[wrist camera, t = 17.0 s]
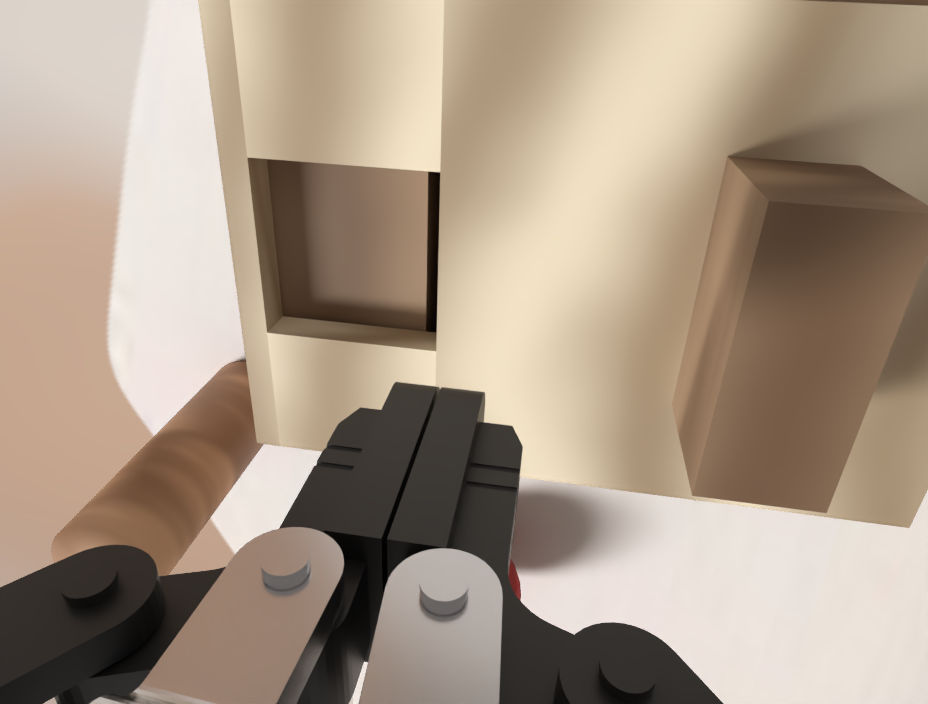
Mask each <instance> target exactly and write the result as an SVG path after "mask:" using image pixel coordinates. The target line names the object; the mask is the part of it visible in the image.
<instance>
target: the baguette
mask: <svg viewBox="0 0 928 704" xmlns="http://www.w3.org/2000/svg"><path fill="white" fill-rule="evenodd" d="M262 446H263V444H262V443H257V439H256V432H255V424H254V417H253V409H252V402H251V394H250V387H249V379H248V372H247V364H246V361H237V362H232V363H229V364H227V365H225V366H224V367H223V368H221V369H220V370H219V371H218V372H217V373H216V374H215V375H214V377H213V378H212V379H211V380H210V381H209V382H208V383H207V384H206V385H205V386H204V387H203V388H202V389H201V390H200V391H199V392H198V393H197V394H196V395H195V396H194V397H193V398H192V399H191V400H190V401H189V402H188V403H187V404H186V405H185V406H184V407H183V408H182V409H181V410H180V411H179V412H178V413H177V414H176V415H175V416H174V417H173V418H172V419H171V420H170V421H169V422H168V423H167V424H166V425H165V426H164V427H163V428H162V429H161V430H160V431H159V432H158V433H157V434H156V435H155V436H154V437H153V438H152V439H151V440H150V441H149V442H148V443H147V444H146V445H145V446H144V447H143V448H142V449H141V450H140V451H139V452H138V453H137V454H136V455H135V456H134V457H133V458H132V459H131V460H130V461H129V462H128V463H127V465H125V466H124V467H123V468H122V469H121V470H120V471H119V473H117V474H116V475H115V477H114V478H113V479H112V480H111V481H110V482H109V483H108V484H107V485H106V486H105V487H104V488H103V489H102V490H101V491H100V492H99V493H98V494H97V495H96V496H95V497H94V498H93V499H92V500H91V501H90V502H89V503H88V504H87V505H86V506H85V507H84V508H83V509H82V510H81V511H80V512H79V513H78V514H77V515H76V516H75V517H74V518H73V519H72V520H71V521H70V522H69V523H68V524H67V525H66V526H65V527H64V528H63V529H62V530H61V531H60V532H59V533H58V534H57V535H56V536H55V538H54V540H53V543H52V557H53V560H54V563H56V562H58V561H60V560H63V559H65V558H67V557H69V556H72V555H74V554H76V553H79V552H81V551H84V550H87V549H91V548H94V547H99V546H105V545H128V546H133V547H136V548H139V549H142V550H143V551H145V552H146V553H148V554H149V555H150V556H151V557H152V558H153V560H154V562H155V564H156V566H157V570H158V574H159V576H166V575H169V574H170V572H171V571H172V569H173V568H174V567H175V565H176V564H177V563H178V561H179V560H180V559H181V557H182V555H183V554H184V553H185V552H186V550H187V549H188V547H189V546H190V545H191V543H192V542H193V541H194V539H195V538H196V537H197V535H198V534H199V532H200V531H201V529H202V528H203V527H204V526H205V524H206V523H207V521H208V520H209V519H210V517H211V516H212V515H213V513H214V512H215V510H216V509H217V508H218V506H219V505H220V504H221V502H222V501H223V499H224V498H225V497H226V495H227V494H228V492H229V491H230V490H231V488H232V487H233V486H234V484H235V483H236V481H237V480H238V479H239V477H240V476H241V475H242V473H243V472H244V470H245V469H246V468H247V466H248V465H249V464H250V462H251V461H252V459H253V458H254V457H255V455H256V454H257V453H258V451H259V450H260V448H261V447H262Z"/></svg>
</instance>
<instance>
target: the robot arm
mask: <svg viewBox="0 0 928 704" xmlns="http://www.w3.org/2000/svg"><path fill="white" fill-rule="evenodd" d="M484 412H485V392H480V391H471V390H463V389H454V388H446V387H441V389H440V388H439V387H436V386H427V385H419V384H410V383H402V382H395V383H394V384H393V386H392V388H391V390H390V393H389V395H388V397H387V399H386V401H385V403H384V405H383V407H382V409H381V410H378V409H370V408H361V407H360V408H359V409H358V410H356V411H355V412H353V413H352V414H351V415H349V416H348V417H347V418H345V419H344V420H343V421H341V422H340V423H338V425H337V427H336V429H335V430H334V432H333V434H332V436H331V437H330V439H329V441H328V443H327V447H326V448H324V450H323V452H322V453H321V455H320V457H319V459H318V461H317V465H316V466H314V468H313V469H312V471H311V473H310V475H309V477H308V478H307V480H306V482H305V484H304V485H303V487H302V489H301V491H300V493H299V494H298V496H297V498H296V500H295V501H294V503H293V505H292V507H291V509H290V510H289V512H288V514H287V516H286V517H285V519H284V521H283V523H282V525H281V526H280V528H279V529H276V530H272V531H270V532H267V533H264V534H262V535H260V536H258V537H256V538H254V539H253V540H251V541H250V542H248V543H247V544H245V545H244V546H243V547H242V548H241V549H240V550H239V551H238V552H237V553H236V554H235V556H234V557H233V558H232V560H231V561H230V562H229V564H228V565H227V567H224V568H220V569H215V570H209V571H201V572H192V573H184V574H175V575H166V576H159V574H158V570H157V566H156V564H155V562H154V560H153V558H152V557H151V556H150V555H149V554H148V553H146V552H145V551H143V550H142V549H139V548H136V547H133V546H128V545H105V546H99V547H94V548H91V549H87V550H84V551H81V552H79V553H76V554H74V555H72V556H69V557H67V558H65V559H63V560H60V561H58V562H56V563H54V564H52V565H49V566H47V567H45V568H43V569H40V570H38V571H36V572H34V573H32V574H29V575H27V576H25V577H23V578H20V579H18V580H16V581H14V582H12V583H9V584H7V585H5V586H3V587H0V704H43V703H44V702H46V701H48V700H50V699H52V698H53V697H55V700H56V702H57V704H353V698H352V696H353V693H354V690H355V687H356V684H357V681H358V678H359V675H360V672H361V669H362V666H363V663H364V661H365V662H368V665H367V670H366V674H365V678H364V683H363V687H362V691H361V696H360V700H359V704H723V703H722V702H721V701H720V700H719V699H718V697H717V696H716V695H715V694H714V693H713V692H712V691H711V690H710V689H709V688H708V687H707V686H706V685H705V684H704V683H703V681H702V680H701V679H700V678H699V677H698V676H697V675H696V674H695V673H694V672H693V671H692V670H691V669H690V668H689V666H688V665H687V664H686V663H685V662H684V661H683V660H682V659H681V658H680V657H679V656H678V655H677V654H676V653H675V652H674V651H673V650H672V649H671V648H670V647H669V646H668V645H667V644H666V643H665V642H663V641H662V640H661V639H659V638H658V637H656V636H655V635H653V634H651V633H649V632H647V631H645V630H643V629H640V628H638V627H635V626H631V625H627V624H622V623H600V624H595V625H592V626H589V627H586V628H584V629H582V630H581V631H579V632H578V633H576V634H575V635H573V634H571V633H569V632H567V631H565V630H563V629H560V628H558V627H556V626H554V625H552V624H550V623H548V622H546V621H544V620H542V619H540V618H539V617H538V616H536V615H535V614H533V613H532V612H531V611H530V610H529V609H527V608H526V607H525V606H524V605H523V604H522V602H521V601H520V600H519V599H518V597H517V596H516V594H515V592H514V591H513V589H512V586H511V584H510V581H509V576H508V574H509V566H510V558H511V550H512V542H513V534H514V526H515V518H516V508H517V499H518V489H519V479H520V470H521V460H522V451H523V446H522V444H521V442H520V440H519V438H518V436H517V434H516V432H515V430H514V428H513V426H510V425H502V424H493V423H485V422H484Z"/></svg>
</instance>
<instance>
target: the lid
mask: <svg viewBox="0 0 928 704" xmlns="http://www.w3.org/2000/svg"><path fill="white" fill-rule="evenodd" d="M198 3H199V10H200V18H201V25H202V33H203V40H204V48H205V55H206V63H207V70H208V78H209V85H210V93H211V101H212V108H213V116H214V123H215V131H216V138H217V146H218V153H219V161H220V168H221V176H222V183H223V191H224V198H225V206H226V213H227V221H228V229H229V236H230V244H231V251H232V259H233V266H234V274H235V281H236V289H237V296H238V304H239V311H240V319H241V326H242V334H243V342H244V349H245V357H246V364H247V372H248V379H249V387H250V394H251V402H252V409H253V417H254V424H255V432H256V439H257V443H262V444H269V445H277V446H285V447H292V448H300V449H308V450H315V451H323V450H324V448H326V447H327V443H328V441H329V439H330V437H331V436H332V434H333V432H334V430H335V429H336V427H337V425H338V423H340V422H341V421H343V420H344V419H345V418H347V417H348V416H349V415H351V414H352V413H353V412H355V411H356V410H358V409H359V408H360V407H361V408H370V409H378V410H381V409H382V407H383V405H384V403H385V401H386V399H387V397H388V395H389V393H390V390H391V388H392V386H393V384H394V383H395V382H402V383H410V384H419V385H427V386H436V387H439V388H440V389H441V387H446V388H454V389H463V390H471V391H480V392H485V412H484V422H485V423H493V424H502V425H510V426H513V428H514V430H515V432H516V434H517V436H518V438H519V440H520V442H521V444H522V446H523V451H522V460H521V470H520V477H523V478H530V479H538V480H546V481H553V482H561V483H569V484H576V485H584V486H592V487H599V488H607V489H615V490H622V491H630V492H638V493H645V494H653V495H661V496H668V497H676V498H684V499H691V500H699V501H707V502H714V503H722V504H730V505H738V506H745V507H753V508H761V509H768V510H776V511H784V512H791V513H799V514H807V515H814V516H822V517H830V518H837V519H845V520H853V521H860V522H868V523H876V524H883V525H891V526H899V527H906V528H910V525H911V523H912V521H913V519H914V517H915V515H916V513H917V511H918V509H919V506H920V504H921V502H922V500H923V498H924V496H925V494H926V492H927V490H928V6H920V5H897V4H874V3H851V2H828V1H805V0H198ZM267 159H274V160H287V161H300V162H313V163H326V164H339V165H352V166H364V167H377V168H390V169H403V170H416V171H429V172H440V208H439V253H438V297H437V333H435V332H426V331H417V330H407V329H398V328H388V327H379V326H369V325H360V324H351V323H341V322H332V321H322V320H313V319H304V318H294V317H285V316H283V314H282V304H281V294H280V284H279V274H278V264H277V254H276V244H275V234H274V224H273V213H272V203H271V193H270V183H269V173H268V163H267Z"/></svg>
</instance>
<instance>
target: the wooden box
mask: <svg viewBox="0 0 928 704" xmlns="http://www.w3.org/2000/svg"><path fill="white" fill-rule="evenodd" d="M805 1H828V2H851V3H874V4H897V5H920V6H928V0H805ZM267 163H268V173H269V183H270V193H271V203H272V213H273V224H274V234H275V244H276V254H277V264H278V274H279V284H280V294H281V304H282V314H283V316H285V317H294V318H304V319H313V320H322V321H332V322H341V323H351V324H360V325H369V326H379V327H388V328H398V329H407V330H417V331H426V332H435V333H437V297H438V253H439V208H440V172H429V171H416V170H403V169H390V168H377V167H364V166H352V165H339V164H326V163H313V162H300V161H287V160H274V159H267Z"/></svg>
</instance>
